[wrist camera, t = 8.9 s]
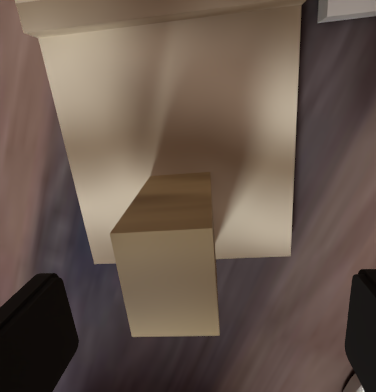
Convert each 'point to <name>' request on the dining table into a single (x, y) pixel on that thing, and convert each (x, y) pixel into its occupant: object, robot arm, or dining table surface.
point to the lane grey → (345, 9)
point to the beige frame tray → (175, 140)
